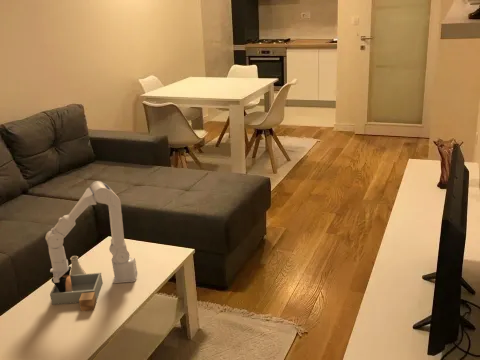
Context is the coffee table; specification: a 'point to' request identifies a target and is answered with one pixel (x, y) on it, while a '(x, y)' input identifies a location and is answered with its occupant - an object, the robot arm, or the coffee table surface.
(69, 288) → the terracotta cylinder
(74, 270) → the flask
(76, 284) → the slate tote
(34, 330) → the coffee table surface
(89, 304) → the walnut cube
